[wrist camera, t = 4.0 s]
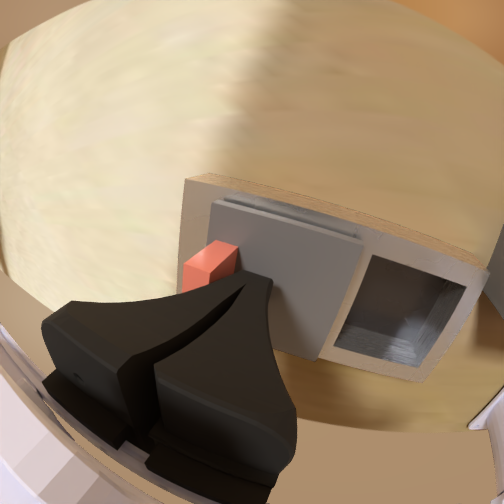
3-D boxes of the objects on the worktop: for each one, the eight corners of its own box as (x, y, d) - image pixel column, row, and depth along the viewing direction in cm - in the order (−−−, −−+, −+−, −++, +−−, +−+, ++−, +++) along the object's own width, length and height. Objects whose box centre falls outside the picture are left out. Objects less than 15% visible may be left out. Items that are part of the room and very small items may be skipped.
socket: (471, 253, 10) (490, 272, 8) (417, 355, 13) (422, 383, 11) (209, 173, 14) (185, 178, 12) (196, 286, 17) (176, 305, 14)
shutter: (362, 240, 10) (368, 275, 7) (317, 353, 12) (305, 401, 10) (218, 199, 11) (176, 218, 8) (204, 314, 14) (172, 351, 11)
